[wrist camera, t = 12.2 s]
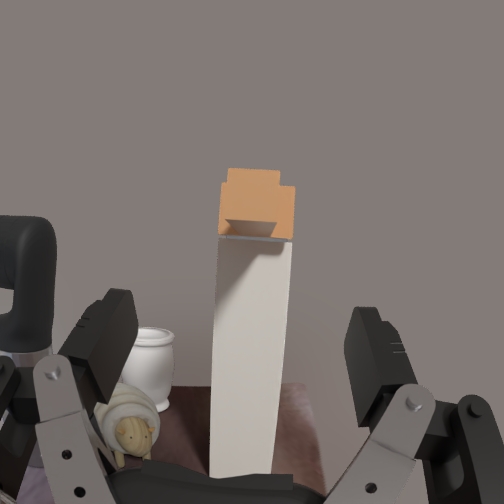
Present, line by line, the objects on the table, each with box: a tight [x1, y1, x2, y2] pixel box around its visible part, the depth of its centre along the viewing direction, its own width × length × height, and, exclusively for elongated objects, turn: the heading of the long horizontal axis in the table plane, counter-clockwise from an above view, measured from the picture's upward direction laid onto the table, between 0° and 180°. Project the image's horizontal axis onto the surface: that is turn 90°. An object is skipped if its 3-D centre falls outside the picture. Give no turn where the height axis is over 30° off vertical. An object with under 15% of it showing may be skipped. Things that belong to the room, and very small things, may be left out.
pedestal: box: [210, 235, 292, 478], centre depth 43 cm, size 16×9×38 cm, turn 178°
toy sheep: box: [94, 382, 160, 468], centre depth 39 cm, size 11×17×11 cm, turn 39°
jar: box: [121, 327, 174, 412], centre depth 56 cm, size 11×10×15 cm
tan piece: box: [218, 168, 295, 239], centre depth 26 cm, size 16×8×5 cm, turn 178°
